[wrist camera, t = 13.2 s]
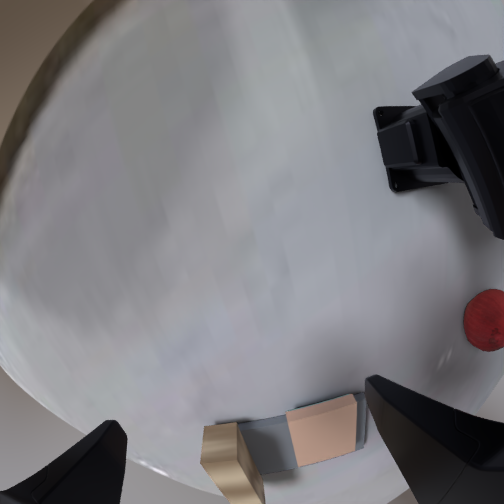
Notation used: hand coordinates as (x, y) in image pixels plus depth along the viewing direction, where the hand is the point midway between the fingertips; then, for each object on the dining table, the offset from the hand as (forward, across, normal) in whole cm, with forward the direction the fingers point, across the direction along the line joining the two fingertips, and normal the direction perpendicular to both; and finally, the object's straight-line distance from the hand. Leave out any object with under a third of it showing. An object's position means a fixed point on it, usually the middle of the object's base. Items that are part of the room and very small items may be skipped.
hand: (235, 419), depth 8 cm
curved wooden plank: (+11, +4, +18) cm, 21 cm away
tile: (+10, -4, +11) cm, 16 cm away
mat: (+12, -2, +18) cm, 21 cm away
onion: (+12, -22, +8) cm, 26 cm away
